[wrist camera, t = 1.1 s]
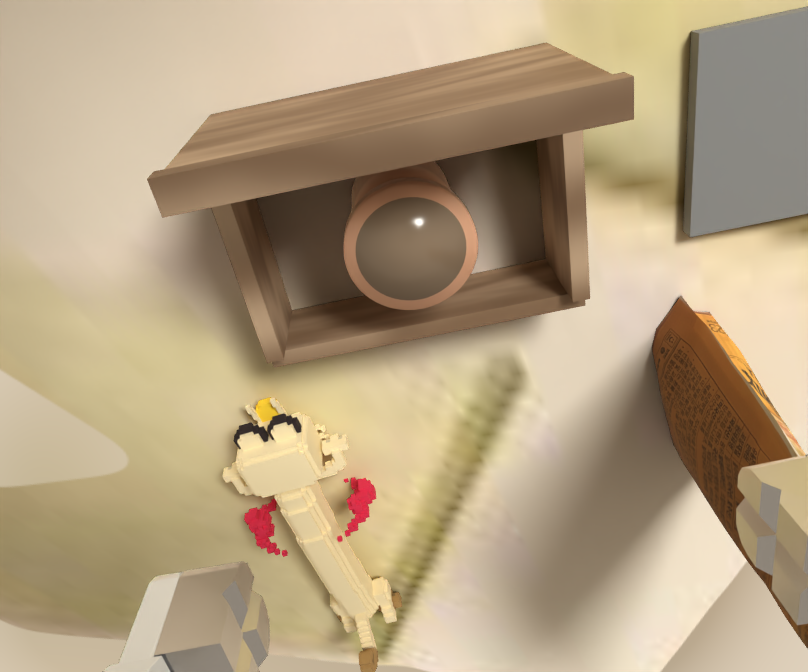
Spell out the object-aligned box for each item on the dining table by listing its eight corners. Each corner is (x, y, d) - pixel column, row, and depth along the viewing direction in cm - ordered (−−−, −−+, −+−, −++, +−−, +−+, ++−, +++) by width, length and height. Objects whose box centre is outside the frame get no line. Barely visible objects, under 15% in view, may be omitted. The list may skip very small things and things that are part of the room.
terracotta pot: (332, 155, 38) (328, 201, 31) (447, 131, 38) (468, 172, 31) (358, 259, 41) (360, 321, 35) (463, 238, 41) (485, 296, 34)
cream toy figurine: (421, 573, 59) (328, 373, 45) (433, 668, 52) (328, 467, 38) (318, 599, 60) (195, 411, 46) (317, 696, 53) (170, 510, 39)
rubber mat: (691, 31, 36) (699, 33, 35) (891, -12, 35) (905, -11, 35) (683, 231, 42) (690, 237, 41) (853, 196, 42) (864, 202, 41)
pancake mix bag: (661, 488, 54) (909, 920, 30) (613, 302, 44) (921, 718, 20) (741, 461, 53) (1064, 885, 29) (710, 266, 43) (1153, 657, 20)
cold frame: (208, 109, 36) (146, 179, 25) (546, 36, 35) (633, 76, 24) (281, 326, 43) (258, 453, 32) (561, 269, 43) (634, 380, 32)
